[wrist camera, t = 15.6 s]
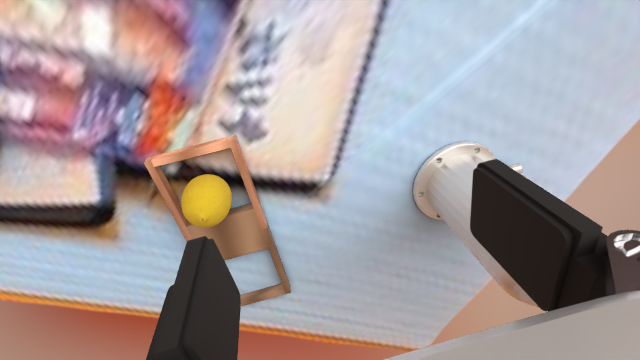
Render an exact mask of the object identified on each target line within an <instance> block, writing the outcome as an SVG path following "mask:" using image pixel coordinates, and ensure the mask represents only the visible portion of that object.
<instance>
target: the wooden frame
mask: <svg viewBox="0 0 640 360" xmlns="http://www.w3.org/2000/svg"><path fill="white" fill-rule="evenodd" d="M228 148H231V150H232V153H233V155H234V158H235V161H236V163H237V166H238V169H239V171H240V174H241V177H242V179H243V182H244V185H245V187H246V190H247V193H248V195H249V198H250V200H251V203H252V204H248V205H244V206H240V207H236V208H233V209H230V210H229V212H228V214H227V216H226V217H225V218H224V219H223V221H221V222H220V223H219V224H217V225H215V226H212V227H198V226H195V225H193V224H191V223H190V222H189V221H188V220H187V219H186V218H185V216H184V214H183V212H182V207H181V205H180V203H179V201H178V200H177V198H176V196H175V194H174V192H173V190H172V188H171V186H170V184H169V182H168V180H167V178H166V176H165V175H164V173H163V171H162V169H161V167H160V165H164V164H168V163H172V162H176V161H180V160H184V159H188V158H192V157H196V156H200V155H204V154H208V153H212V152H216V151H220V150H224V149H228ZM144 164H145V166H146V167H147V169H148V171H149V173H150V175H151V177H152V178H153V180H154V182H155V184H156V186H157V188H158V189H159V191H160V193H161V195H162V197H163V199H164V200H165V202H166V204H167V206H168V208H169V210H170V211H171V213H172V215H173V217H174V219H175V220H176V222H177V224H178V226H179V228H180V230H181V231H182V233H183V235H184V237H185V239H186V241H188V240H191V239H195V238H199V237H203V236H206V237H207V238H208V239H213V240H214V241H215V243H216V245H217V247H218V249H219V251H220V253H221V255H222V257H223V259H224V260H227V259H231V258H234V257H238V256H242V255H245V254H249V253H253V252H257V251H260V250H264V249H268V248H269V251H270V253H271V256H272V259H273V261H274V264H275V267H276V269H277V272H278V275H279V277H280V280H281V283H282V284H279V285H275V286H272V287H268V288H265V289H261V290H257V291H254V292H250V293H246V294H243V295H240V298H241V305H240V306H244V305H247V304H251V303H255V302H258V301H262V300H265V299H269V298H273V297H276V296H280V295H283V294H287V293H291V291H290V284H289V281H288V279H287V276H286V273H285V270H284V267H283V265H282V262H281V259H280V256H279V254H278V251H277V248H276V245H275V243H274V240H273V237H272V234H271V231H270V229H269V226H268V223H267V220H266V218H265V215H264V212H263V209H262V206H261V204H260V201H259V198H258V195H257V193H256V190H255V187H254V184H253V181H252V179H251V176H250V173H249V170H248V168H247V165H246V162H245V159H244V156H243V154H242V151H241V148H240V145H239V143H238V140H237V137H236V135H235V136H231V137H227V138H223V139H219V140H215V141H211V142H207V143H203V144H199V145H195V146H191V147H187V148H183V149H179V150H175V151H171V152H167V153H163V154H159V155H155V156H151V157H148V158H147V159H146V161H145V162H144Z"/></svg>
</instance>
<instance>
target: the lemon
mask: <svg viewBox="0 0 640 360" xmlns="http://www.w3.org/2000/svg"><path fill="white" fill-rule="evenodd" d="M231 204H232V194H231V190H230V188H229V186H228V184H227V183H226V182H225V181H224V180H223V179H222V178H220V177H218V176H215V175H210V174H206V175H201V176H197V177H196V178H194V179H192V180H191V181H190V182H189V183H188V184H187V186H186V187H185V189H184V191H183V193H182V199H181V207H182V212H183V214H184V216H185V218H186V219H187V220H188V221H189V222H190V223H191V224H193V225H195V226H198V227H212V226H215V225H217V224H219V223H220V222H221V221H223V219H224V218H225V217H226V216H227V214H228V212H229V210H230V208H231Z"/></svg>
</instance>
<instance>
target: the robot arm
mask: <svg viewBox="0 0 640 360" xmlns="http://www.w3.org/2000/svg"><path fill="white" fill-rule="evenodd" d="M522 171H523V170H522V166H521V165H520V164H515V165H511V166H507V165H505V164H504V163H502V162H501V161H499V160H497V159H496V158H495V157H494V155H493V153H492V152H491V151H489V150H488V149H487V148H485V147H484V146H482V145H480V144H478V143H475V142H457V143H454V144H450V145H448V146H446V147H443V148H442V149H440V150H438V151H437V152H435V153H434V154H433V155H432V156H431V157H429V158H428V159H427V160H426V162H425V163H424V164H423V165H422V167H421V168H420V170H419V171H418V173H417V176H416V178H415V181H414V186H413V196H414V200H415V202H416V204H417V206H418V207H419V208H420V210H421V211H422V212H423V213H424V214H425V215H427V216H429V217H431V218H433V219H437V220H444V221H445V223H446V224H447V225H448V226H449V227H450V228H451V230H452V231H453V232H454V233H455V234H456V235H457V236H458V238H459V239H460V240H461V241H462V242H463V243H464V245H465V246H466V247H467V248H468V249H469V250H470V252H471V253H472V254H473V255H474V256H475V257H476V259H477V260H478V261H479V262H480V263H481V264H482V266H483V267H484V268H485V269H486V270H487V271H488V273H489V274H490V275H491V276H492V277H493V278H494V279H495V281H496V282H497V283H498V284H499V285H500V286H501V287H502V288H503V289H504V290H505V291H506V292H507V293H508V294H510V295H511V296H512V297H514V298H516V299H518V300H519V301H522V302H524V303H527V304H529V305H533V306H536V307H540V308H541V309H542V310H544V311H548V312H546V313H543V314H539V315H535V316H532V317H528V318H525V319H522V320H518V321H514V322H511V323H507V324H504V325H500V326H497V327H493V328H490V329H486V330H483V331H479V332H476V333H472V334H469V335H465V336H462V337H459V338H455V339H452V340H448V341H445V342H441V343H438V344H435V345H431V346H428V347H424V348H421V349H417V350H414V351H411V352H407V353H404V354H401V355H397V356H394V357H390V358H387V359H384V360H640V231H638V230H618V231H615V232H612V233H611V234H610V235H609V236H606V235H605V234H603V233H602V232H601V231H602V228H603V227H601V226H600V225H598V224H597V223H595V222H594V221H592V220H591V219H589V218H588V217H586V216H584V215H583V214H581V213H580V212H578V211H577V210H575V209H574V208H572V207H570V206H569V205H567V204H566V203H564V202H563V201H561V200H560V199H558V198H557V197H555V196H554V195H552V194H550V193H549V192H547V191H546V190H544V189H543V188H541V187H540V186H538V185H536V184H535V183H533V182H532V181H530V180H529V179H528V178H527V177H526V176H525V175H521V174H519V173H522ZM240 305H241V298H240V293H239V290H238V288H237V286H236V284H235V282H234V280H233V278H232V276H231V274H230V272H229V270H228V268H227V265H226V263H225V261H224V259H223V257H222V255H221V253H220V251H219V249H218V247H217V245H216V243H215V241H214V240H213V239H208V238H207V237H206V236H203V237H199V238H195V239H191V240H188V241H187V244H186V247H185V250H184V254H183V257H182V260H181V264H180V267H179V270H178V273H177V277H176V280H175V283H174V285H172V286H171V287H170V288H169V290H168V292H167V295H166V298H165V301H164V305H163V308H162V311H161V314H160V317H159V320H158V323H157V327H156V330H155V333H154V336H153V339H152V342H151V345H150V349H149V352H148V355H147V358H146V360H237V354H238V338H239V321H240Z"/></svg>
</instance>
